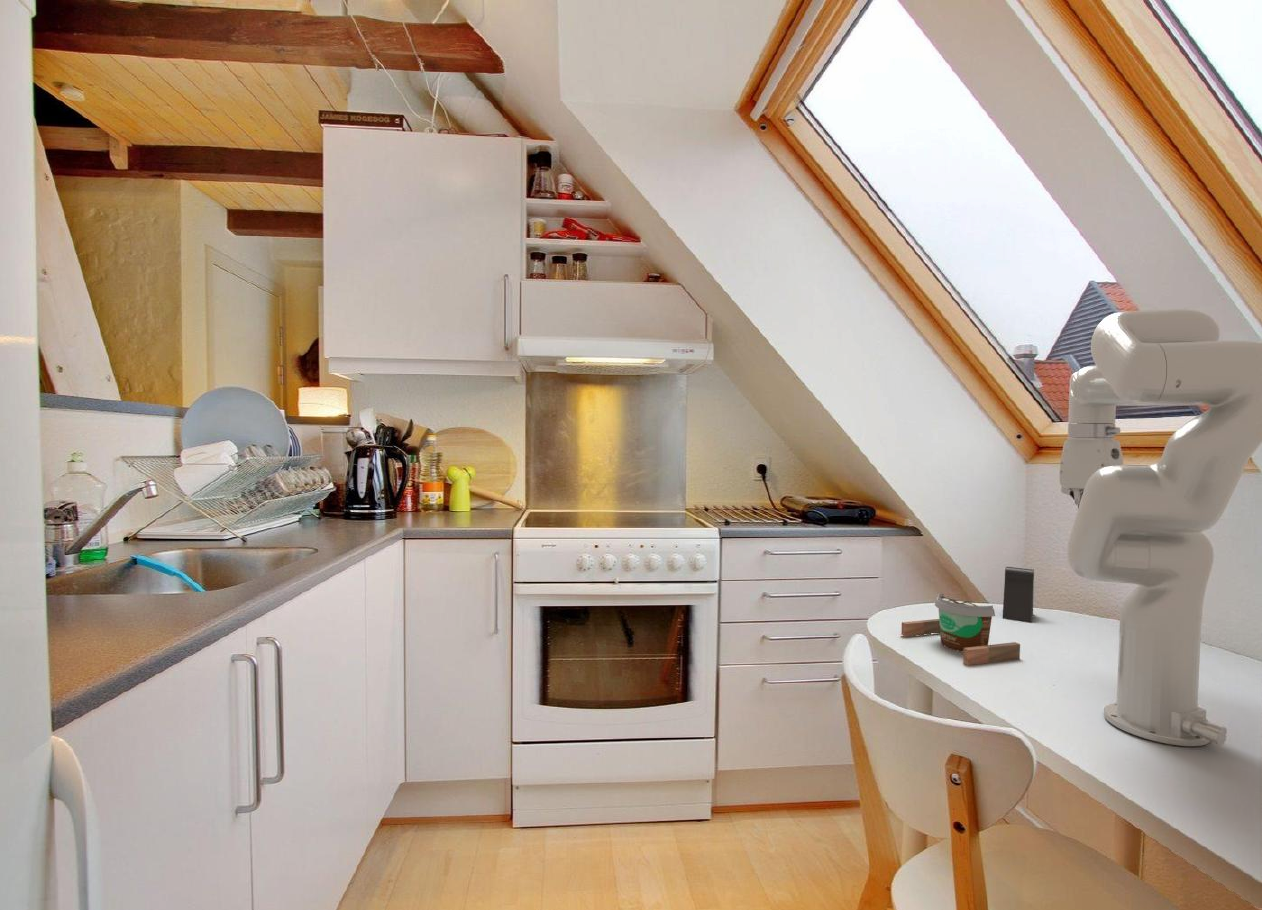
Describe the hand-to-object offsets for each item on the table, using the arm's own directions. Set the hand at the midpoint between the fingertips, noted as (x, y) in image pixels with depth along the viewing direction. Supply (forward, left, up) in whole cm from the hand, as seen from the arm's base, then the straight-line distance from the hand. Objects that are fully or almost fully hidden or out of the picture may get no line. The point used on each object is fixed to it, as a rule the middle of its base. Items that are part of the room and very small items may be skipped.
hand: (1087, 525), depth 125 cm
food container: (+13, +19, -27) cm, 36 cm away
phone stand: (+27, -14, -27) cm, 41 cm away
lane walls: (+13, +18, -27) cm, 35 cm away
